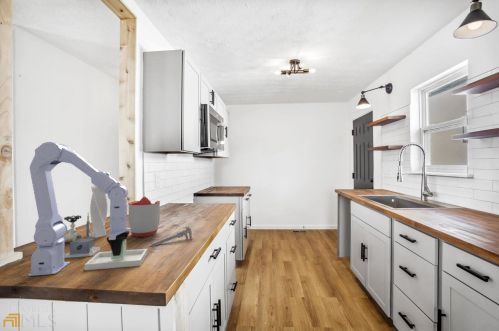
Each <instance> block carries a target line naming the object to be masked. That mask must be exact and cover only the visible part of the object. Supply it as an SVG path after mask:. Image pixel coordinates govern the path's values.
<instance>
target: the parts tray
mask: <svg viewBox="0 0 499 331" xmlns="http://www.w3.org/2000/svg"><path fill="white" fill-rule="evenodd" d="M147 255H148V248H142V249H141V248H140V249H126V256H125V257H124V258H123V259H112V260H111V250H109V251H98V252H97V253H95V254H94V255H93V256H92V257H91V258H90V259H89V260H88V261H87V262H85V263H84V271H93V270H104V269H116V268H118V269H119V268H128V267H139V266H142V264H143V262H144V260H145V258H146V257H147Z"/></svg>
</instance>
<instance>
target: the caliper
mask: <svg viewBox="0 0 499 331" xmlns="http://www.w3.org/2000/svg"><path fill="white" fill-rule="evenodd" d="M192 234H193V232H192V228H191V227H190V226H189V225H188V226H187V227H186V226H185V229H182V230H180V231H177V232H176V233H175V234H172V235H170V236H167V237H163V238H162V239H159V240H156V241H154V242H151V243H150V244H149V245H148V247H149V248H150V247H155V246H158V245H161V244H163V243H166V242H169V241H171V240H173V239H176V238H178V239H181V238H183V237H185V238H186V239H187V240H188V239H189V238H190V239H192V237H193V236H192Z"/></svg>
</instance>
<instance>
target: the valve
mask: <svg viewBox="0 0 499 331" xmlns="http://www.w3.org/2000/svg"><path fill="white" fill-rule="evenodd" d="M79 219H82V215H71V216H65V217H63V221H64V220H65V221H67V222H69V223H71V224H70V225H69V226H70V229H69V230H68V232H67V233H66V234H65V235H64V242H69V243H70V242H72V241H74V240H76V239H83V238H82V234H81V233H77V231H78V229H76V222H77V221H78V220H79Z"/></svg>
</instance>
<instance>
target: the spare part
mask: <svg viewBox="0 0 499 331" xmlns="http://www.w3.org/2000/svg"><path fill="white" fill-rule="evenodd" d="M126 250H127V239H124V240H123V242H122V247H121V253H120V255H119V256H113V253H112V250H111V249H110V251H111V260H112V259H123V258H124V257H125V256H126Z"/></svg>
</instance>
